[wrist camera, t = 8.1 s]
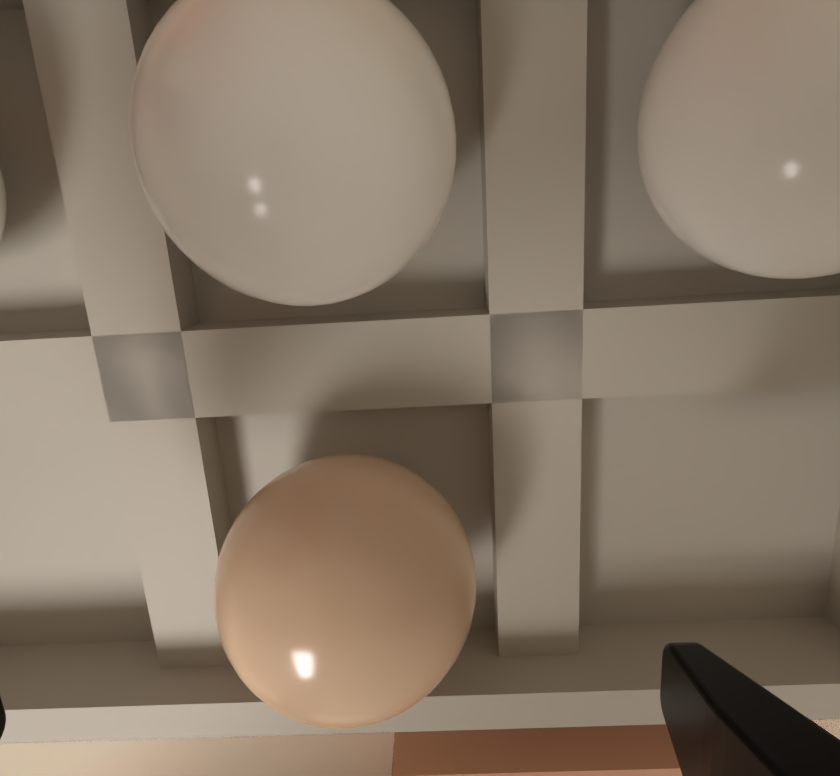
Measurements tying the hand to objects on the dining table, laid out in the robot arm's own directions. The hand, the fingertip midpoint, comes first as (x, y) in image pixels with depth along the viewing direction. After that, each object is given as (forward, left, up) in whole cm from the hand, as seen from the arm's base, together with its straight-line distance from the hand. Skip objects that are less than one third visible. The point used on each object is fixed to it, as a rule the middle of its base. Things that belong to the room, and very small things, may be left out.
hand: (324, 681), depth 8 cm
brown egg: (0, 0, -5) cm, 5 cm away
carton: (+3, 0, -5) cm, 6 cm away
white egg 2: (+7, -7, -5) cm, 11 cm away
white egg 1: (+7, 0, -5) cm, 8 cm away
